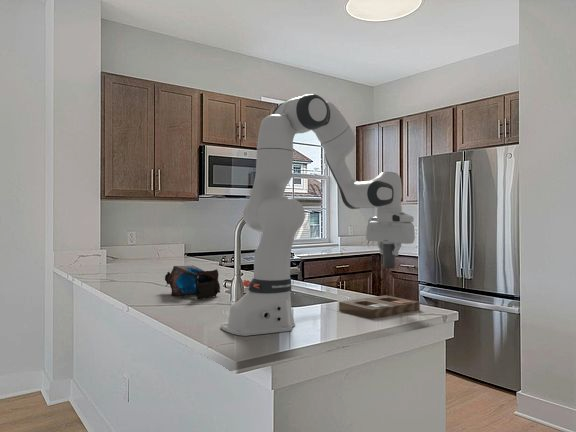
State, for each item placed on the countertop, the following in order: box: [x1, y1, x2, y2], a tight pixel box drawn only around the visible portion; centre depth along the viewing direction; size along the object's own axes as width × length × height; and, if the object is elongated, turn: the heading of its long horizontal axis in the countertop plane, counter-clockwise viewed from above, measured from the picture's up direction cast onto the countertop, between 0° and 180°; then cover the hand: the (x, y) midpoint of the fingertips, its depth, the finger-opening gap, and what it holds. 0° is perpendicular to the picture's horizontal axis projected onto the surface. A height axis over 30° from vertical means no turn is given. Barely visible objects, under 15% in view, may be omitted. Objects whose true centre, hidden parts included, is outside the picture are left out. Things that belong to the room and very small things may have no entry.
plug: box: [382, 240, 396, 269], centre depth 164 cm, size 5×5×10 cm
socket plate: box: [338, 294, 421, 320], centre depth 160 cm, size 24×16×3 cm, turn 126°
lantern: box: [164, 265, 221, 301], centre depth 186 cm, size 16×16×25 cm
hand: (389, 254), depth 164 cm, fingers closed on plug, 4 cm apart
